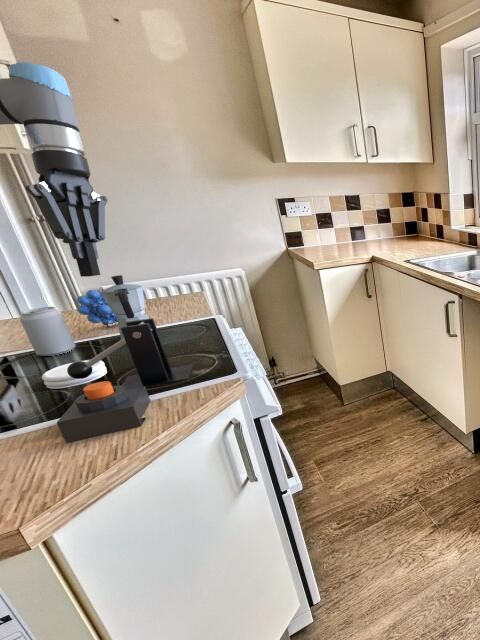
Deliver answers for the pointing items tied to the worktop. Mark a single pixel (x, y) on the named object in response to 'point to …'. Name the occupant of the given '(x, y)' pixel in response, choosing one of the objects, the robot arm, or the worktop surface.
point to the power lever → (92, 362)
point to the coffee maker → (125, 302)
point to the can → (47, 331)
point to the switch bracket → (149, 357)
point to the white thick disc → (62, 379)
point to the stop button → (98, 390)
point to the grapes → (96, 308)
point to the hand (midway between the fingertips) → (90, 275)
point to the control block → (104, 414)
